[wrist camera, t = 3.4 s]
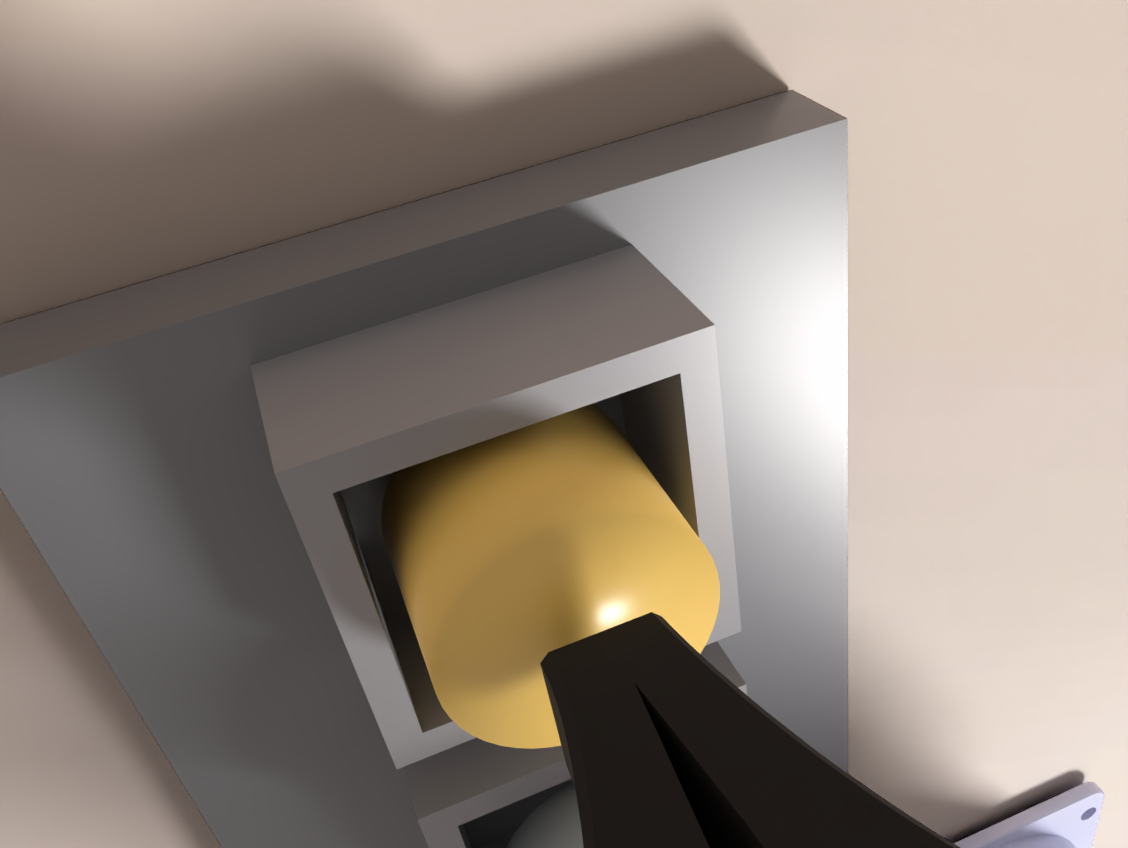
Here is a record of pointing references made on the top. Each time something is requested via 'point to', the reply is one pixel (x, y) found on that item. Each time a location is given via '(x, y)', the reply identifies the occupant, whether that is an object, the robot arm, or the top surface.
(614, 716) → the robot arm
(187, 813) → the top surface
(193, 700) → the panel
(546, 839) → the slate button
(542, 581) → the amber button
